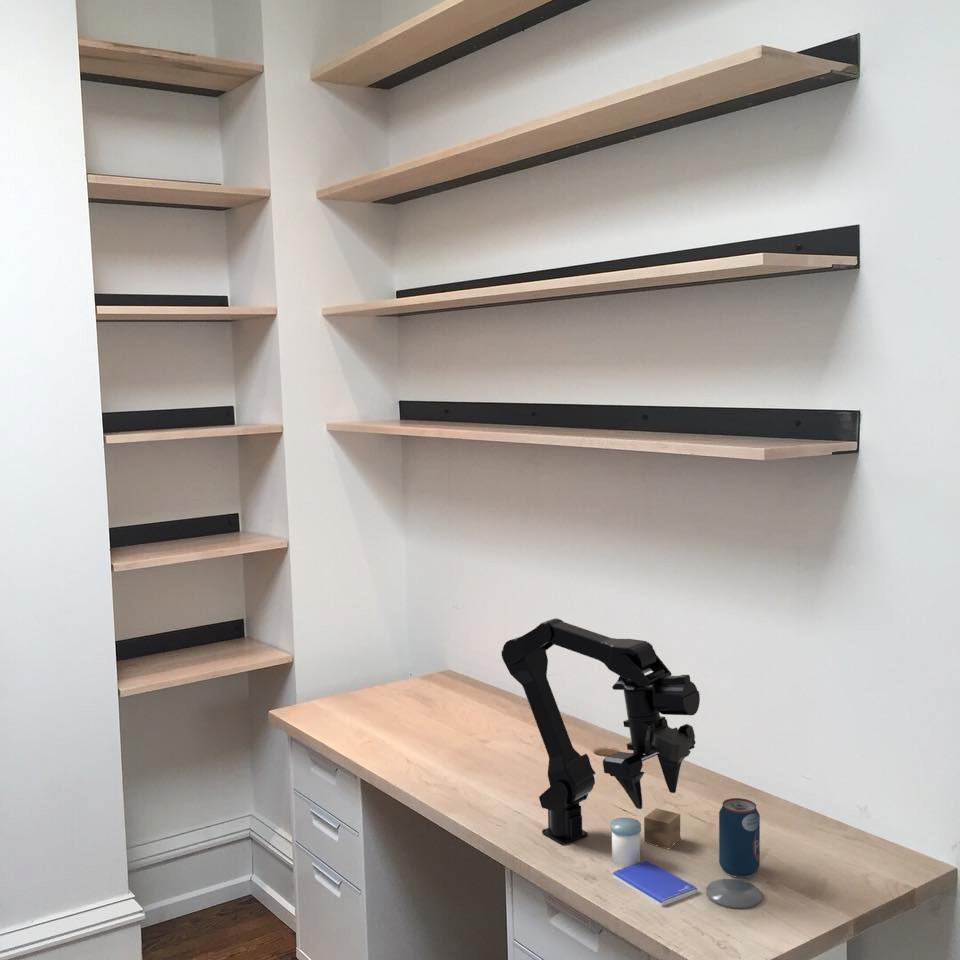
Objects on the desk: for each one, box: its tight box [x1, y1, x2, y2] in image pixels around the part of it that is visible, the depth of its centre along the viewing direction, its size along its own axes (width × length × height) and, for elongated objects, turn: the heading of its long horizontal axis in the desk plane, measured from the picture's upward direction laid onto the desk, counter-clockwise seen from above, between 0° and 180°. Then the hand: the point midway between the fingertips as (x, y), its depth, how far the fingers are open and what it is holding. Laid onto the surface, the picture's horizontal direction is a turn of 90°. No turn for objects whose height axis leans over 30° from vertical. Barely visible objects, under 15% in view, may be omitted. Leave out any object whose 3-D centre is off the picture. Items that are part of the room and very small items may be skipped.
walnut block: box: [643, 807, 681, 849], centre depth 195 cm, size 5×5×5 cm
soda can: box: [718, 797, 761, 878], centre depth 182 cm, size 7×7×12 cm
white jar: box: [610, 817, 642, 868], centre depth 187 cm, size 5×5×7 cm
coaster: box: [706, 878, 763, 910], centre depth 174 cm, size 9×9×1 cm
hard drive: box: [612, 859, 698, 907], centre depth 178 cm, size 2×8×12 cm
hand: (656, 800), depth 184 cm, fingers open, 9 cm apart
